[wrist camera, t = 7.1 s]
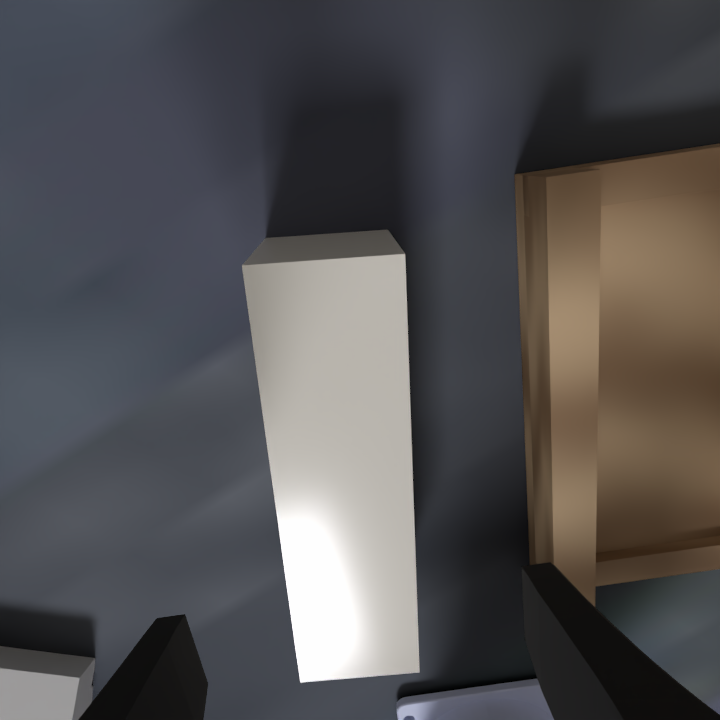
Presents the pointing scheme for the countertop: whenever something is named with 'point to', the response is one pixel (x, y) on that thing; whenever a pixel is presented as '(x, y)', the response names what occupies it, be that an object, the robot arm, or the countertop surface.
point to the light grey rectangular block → (339, 445)
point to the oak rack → (622, 365)
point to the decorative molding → (44, 685)
